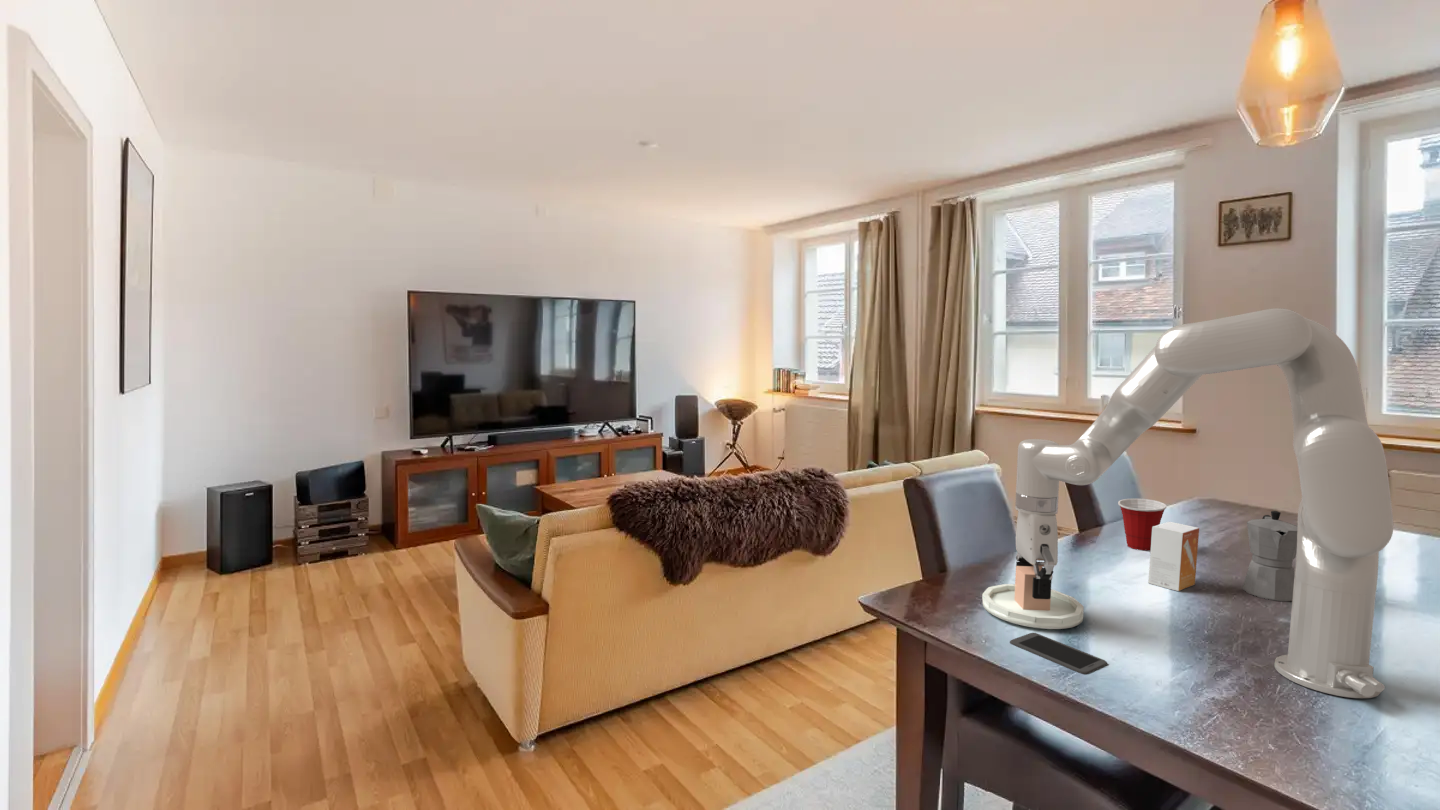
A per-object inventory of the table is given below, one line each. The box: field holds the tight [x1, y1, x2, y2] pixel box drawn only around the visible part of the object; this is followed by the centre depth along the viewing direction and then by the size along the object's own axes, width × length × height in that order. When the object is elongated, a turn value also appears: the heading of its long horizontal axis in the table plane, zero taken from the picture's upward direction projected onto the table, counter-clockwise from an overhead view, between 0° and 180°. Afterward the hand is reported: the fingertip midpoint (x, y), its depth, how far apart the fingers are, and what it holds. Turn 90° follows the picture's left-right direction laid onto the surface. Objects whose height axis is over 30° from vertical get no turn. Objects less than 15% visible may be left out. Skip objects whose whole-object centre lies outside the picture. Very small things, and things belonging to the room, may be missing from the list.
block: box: [1014, 565, 1051, 610], centre depth 134 cm, size 5×5×7 cm
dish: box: [981, 583, 1085, 630], centre depth 134 cm, size 18×18×3 cm
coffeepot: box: [1242, 510, 1298, 602], centre depth 145 cm, size 15×9×18 cm, turn 151°
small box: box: [1147, 521, 1200, 592], centre depth 150 cm, size 8×6×13 cm
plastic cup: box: [1117, 498, 1167, 551], centre depth 177 cm, size 11×11×12 cm
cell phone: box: [1009, 632, 1108, 675], centre depth 117 cm, size 7×14×1 cm, turn 32°
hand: (1032, 589), depth 134 cm, fingers open, 8 cm apart
